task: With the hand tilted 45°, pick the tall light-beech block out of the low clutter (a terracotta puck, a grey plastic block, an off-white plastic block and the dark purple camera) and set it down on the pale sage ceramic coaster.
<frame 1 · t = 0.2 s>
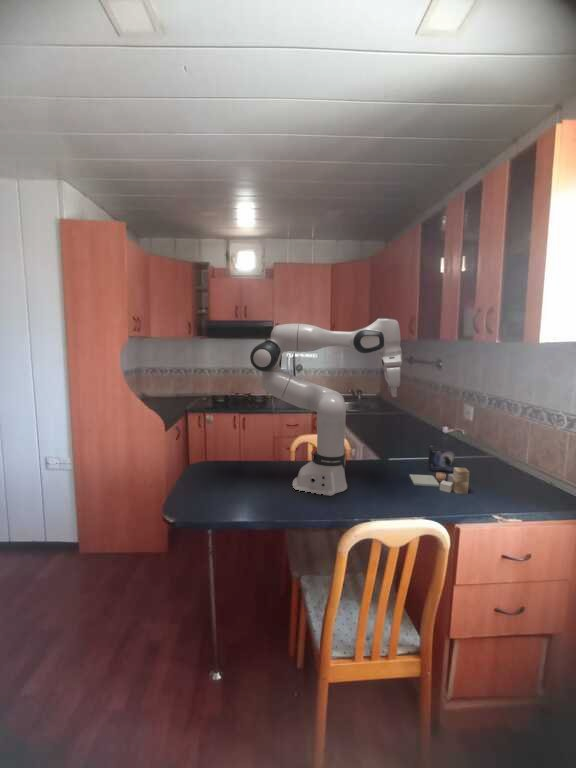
hand: (392, 394, 144), 39 cm above the table, tool pointing down, fingers open, 8 cm apart
dark purple camera: (440, 470, 170), on the table
grey plastic block: (454, 482, 156), on the table
terracotta puck: (440, 480, 158), on the table
beech block: (459, 491, 147), on the table
off-white plastic block: (446, 490, 148), on the table
coaster: (423, 481, 157), on the table
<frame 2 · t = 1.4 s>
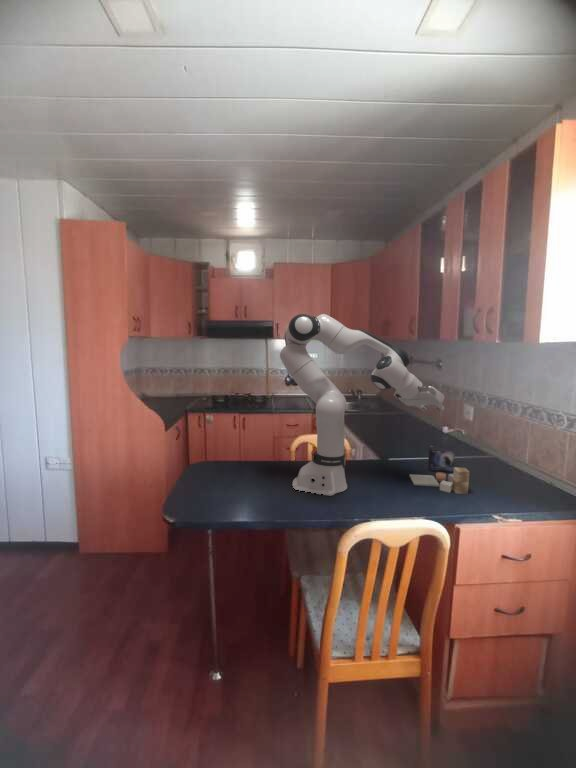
hand: (433, 409, 147), 32 cm above the table, tool tilted 50°, fingers open, 8 cm apart
nothing on the table moved.
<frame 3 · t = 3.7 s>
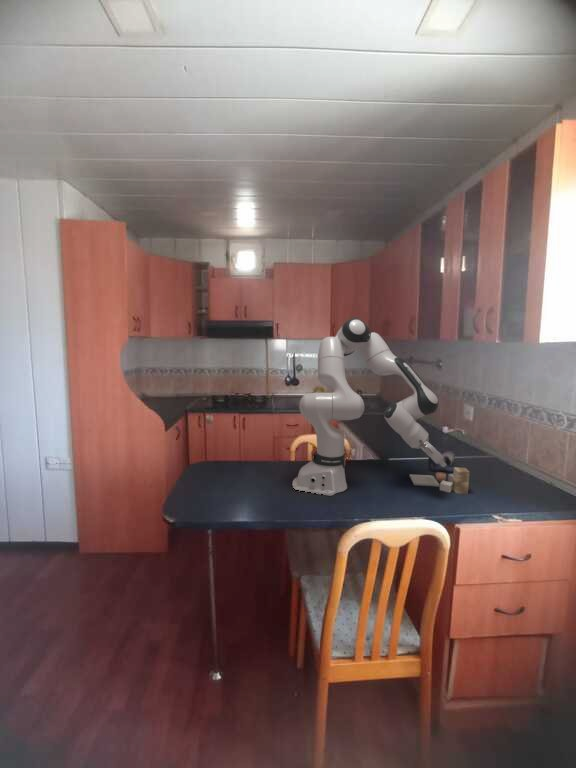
hand: (440, 461, 147), 12 cm above the table, tool tilted 45°, fingers open, 8 cm apart
nothing on the table moved.
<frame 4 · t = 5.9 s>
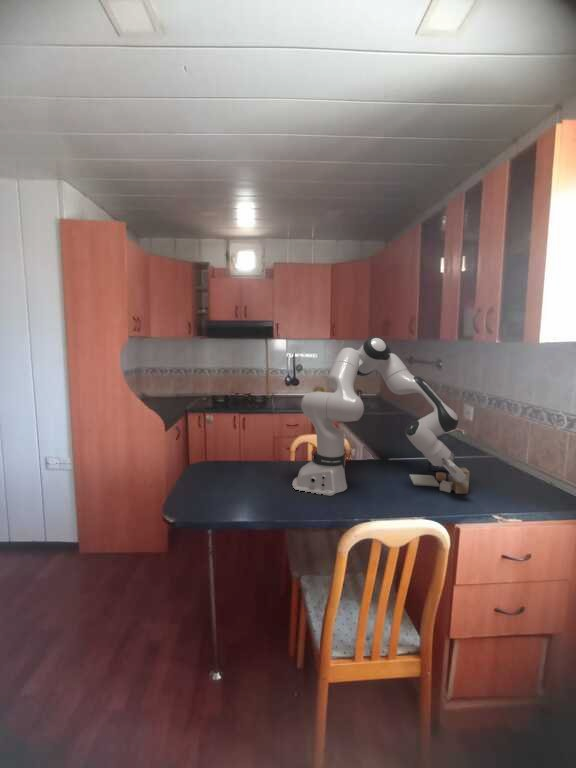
hand: (462, 479, 146), 5 cm above the table, tool tilted 45°, fingers closed on beech block, 5 cm apart
beech block: (459, 491, 147), on the table, touching gripper
everything else where it was.
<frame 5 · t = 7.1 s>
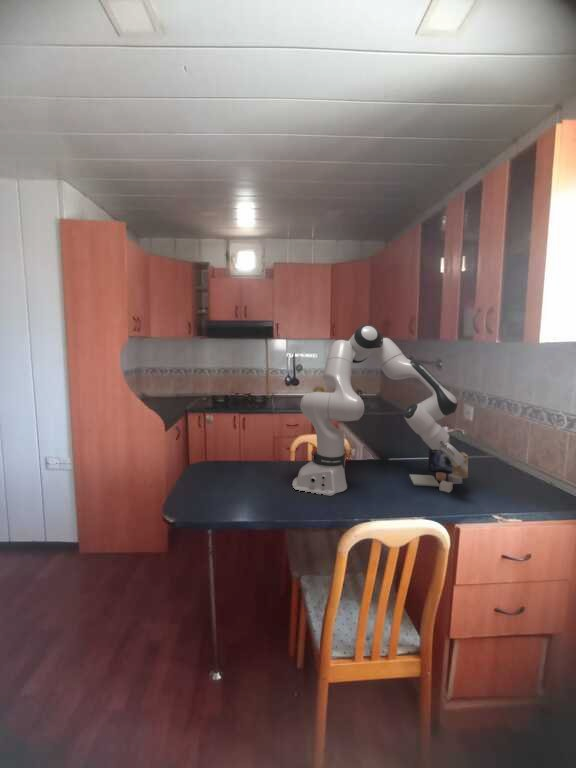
hand: (461, 463, 145), 12 cm above the table, tool tilted 45°, fingers closed on beech block, 5 cm apart
beech block: (459, 475, 145), point 7 cm above the table, touching gripper
everything else where it was.
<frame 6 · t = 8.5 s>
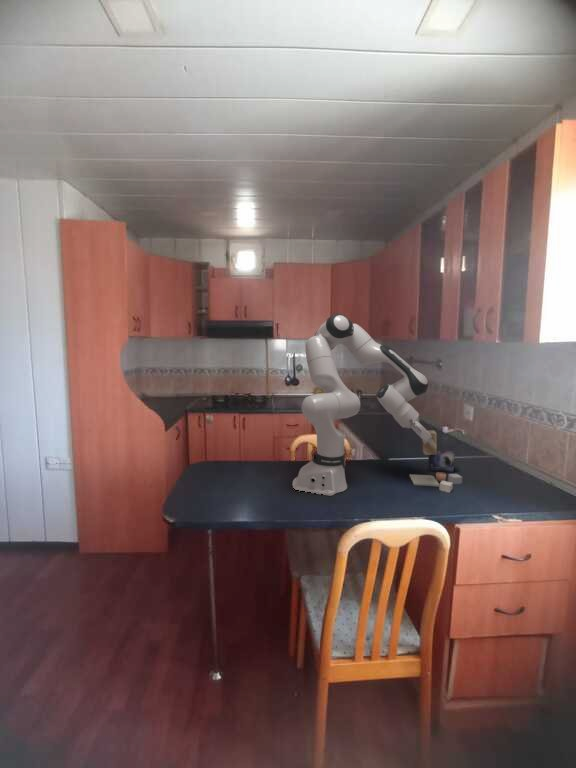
hand: (430, 441, 153), 18 cm above the table, tool tilted 45°, fingers closed on beech block, 5 cm apart
beech block: (429, 452, 153), point 13 cm above the table, touching gripper
everything else where it was.
when the fingers open (7 cm above the table, at t = 11.1 s): beech block drops 1 cm, resting on coaster.
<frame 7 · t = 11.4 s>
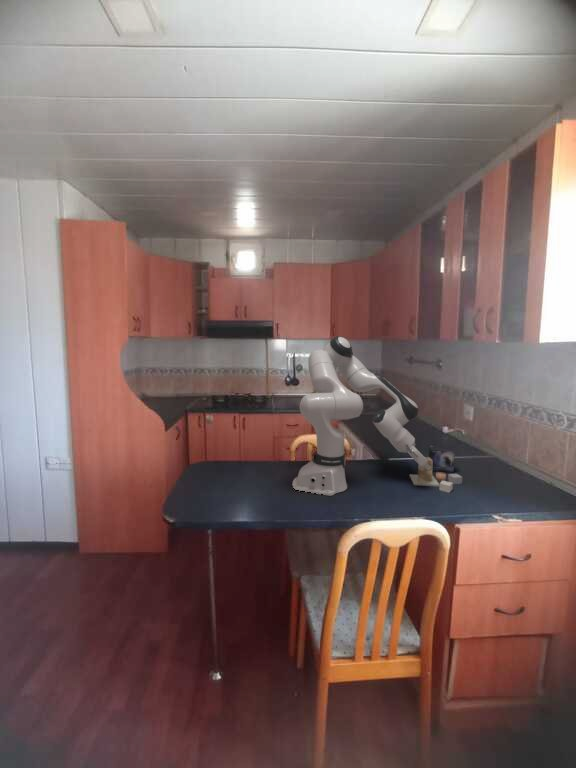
hand: (426, 465, 156), 7 cm above the table, tool tilted 45°, fingers open, 7 cm apart
beech block: (425, 479, 157), point 1 cm above the table, touching coaster
everything else where it was.
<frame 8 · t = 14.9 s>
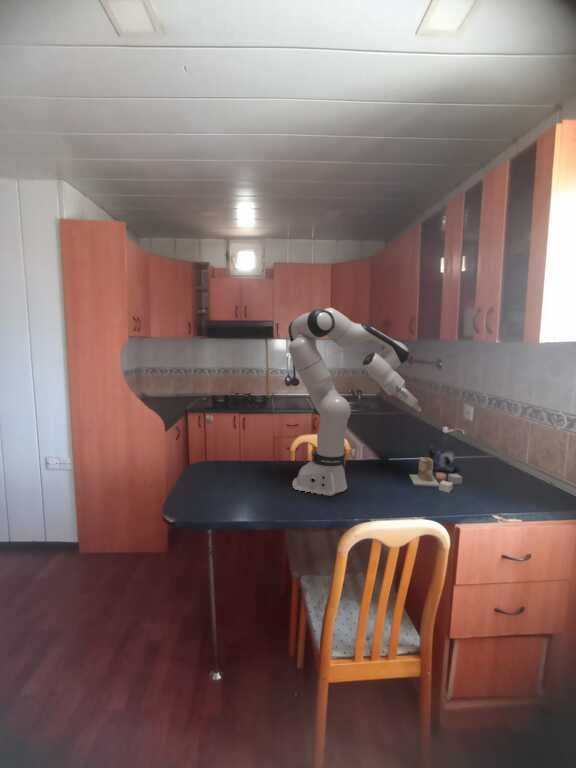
hand: (416, 408, 154), 31 cm above the table, tool tilted 45°, fingers open, 8 cm apart
nothing on the table moved.
at the end: beech block inside the target area on the coaster (0.5 cm from its centre), point 0.8 cm above the coaster's base; beech block tilted 0°; the gripper is holding nothing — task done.
